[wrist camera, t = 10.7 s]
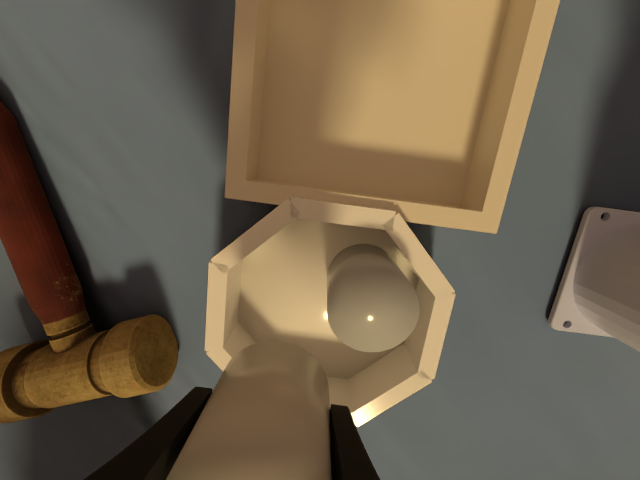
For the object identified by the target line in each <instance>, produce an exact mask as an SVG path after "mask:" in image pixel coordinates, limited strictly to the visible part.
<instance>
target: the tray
mask: <svg viewBox="0 0 640 480" xmlns="http://www.w3.org/2000/svg"><path fill="white" fill-rule="evenodd" d="M559 2H560V0H236V4H235V22H234V40H233V58H232V76H231V93H230V111H229V129H228V147H227V165H226V183H225V198H230V199H237V200H245V201H252V202H260V203H268V204H275V205H280V204H282V203H283V202H284V201H285V200H287V199H288V198H290V200H291V197H298V198H305V199H313V200H320V201H328V202H335V203H343V204H351V205H358V206H366V207H373V208H381V209H388V210H395V211H396V212H398V213H399V214H400V215H401V217H402V218H403V219H404V221H405V222H412V223H419V224H427V225H434V226H442V227H450V228H457V229H465V230H472V231H480V232H487V233H495V234H497V230H498V227H499V223H500V219H501V216H502V212H503V208H504V204H505V201H506V197H507V193H508V190H509V186H510V182H511V179H512V175H513V171H514V168H515V164H516V160H517V157H518V153H519V149H520V146H521V142H522V138H523V135H524V131H525V127H526V124H527V120H528V116H529V113H530V109H531V105H532V102H533V98H534V94H535V91H536V87H537V83H538V80H539V76H540V72H541V69H542V65H543V61H544V58H545V54H546V50H547V46H548V43H549V39H550V35H551V32H552V28H553V24H554V21H555V17H556V13H557V10H558V6H559Z"/></svg>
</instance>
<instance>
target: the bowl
mask: <svg viewBox="0 0 640 480" xmlns="http://www.w3.org/2000/svg"><path fill="white" fill-rule="evenodd" d="M356 244H370V245H374V246H377V247H379V248H381V249H383V250H384V251H386V252H387V253H388V254H389V255H390V256H391V257H392V259H393V260H394V261H395V263H396V264H397V266H398V267H399V268H400V270H401V271H402V272H403V274H404V275H405V276H406V278H407V279H408V281H409V282H410V283H411V285H412V286H413V288H414V289H415V291H416V293H417V296H418V299H419V304H420V313H419V319H418V322H417V324H416V327H415V328H414V330H413V332H412V333H411V334H410V336H409V337H408V338H407V339H406V340H405V341H403V342H402V343H401V344H399V345H397V346H396V347H394V348H391V349H389V350H385V351H381V352H363V351H359V350H355V349H353V348H351V347H349V346H347V345H345V344H344V343H343V342H341V341H340V340H339V339H338V338H337V337H336V335H335V334H334V333H333V331H332V329H331V327H330V325H329V322H328V317H327V273H328V269H329V266H330V264H331V262H332V260H333V259H334V257H335V256H336V255H337V254H338V253H339V252H340V251H342V250H343V249H345V248H347V247H349V246H352V245H356ZM454 292H455V291H454V289H453V288H452V287H451V285H450V284H449V282H448V281H447V280H446V278H445V277H444V275H443V274H442V273H441V271H440V270H439V268H438V267H437V266H436V264H435V263H434V261H433V260H432V259H431V257H430V256H429V254H428V253H427V252H426V250H425V249H424V247H423V246H422V245H421V243H420V242H419V240H418V239H417V238H416V236H415V235H414V233H413V232H412V231H411V229H410V228H409V226H408V225H407V224H406V222H405V221H404V219H403V218H402V217H401V215H400V214H399V213H398V212H396V211H395V210H388V209H381V208H373V207H366V206H358V205H351V204H343V203H335V202H328V201H320V200H313V199H305V198H298V197H291V200H290V198H288V199H287V200H285V201H284V202H283V203H282V204H280V205H279V206H278V207H276V208H275V209H274V210H273V211H271V212H270V213H269V214H268V215H266V216H265V217H264V218H263V219H261V220H260V221H259V222H257V223H256V224H255V225H254V226H252V227H251V228H250V229H249V230H247V231H246V232H245V233H244V234H242V235H241V236H240V237H238V238H237V239H236V240H235V241H233V242H232V243H231V244H230V245H228V246H227V247H226V248H225V249H223V250H222V251H221V252H219V253H218V254H217V255H216V256H214V257H213V258H212V259H211V261H210V262H209V271H208V293H207V314H206V336H205V351H207V352H206V354H207V355H208V356H209V357H210V358H211V359H212V360H213V361H214V362H215V363H216V364H217V365H218V366H219V368H220V369H221V370H222V371H224V370H225V368H226V366H227V364H228V363H229V361H230V360H231V359H232V358H233V357H234V356H235V355H236V354H237V353H238V352H239V351H241V350H242V349H244V348H246V347H248V346H250V345H253V344H255V343H259V342H264V341H282V342H287V343H291V344H294V345H296V346H299V347H301V348H303V349H304V350H306V351H307V352H309V353H310V354H311V355H312V356H314V357H315V358H316V359H317V361H318V362H319V363H320V364H321V366H322V367H323V369H324V371H325V373H326V376H327V379H328V383H329V398H330V407H331V404H335V405H343V406H347V407H348V408H349V409H350V412H351V415H352V418H353V421H354V424H355V425H356V426H357V427H359V426H361V425H362V424H364V423H365V422H367V421H369V420H370V419H372V418H374V417H375V416H377V415H379V414H380V413H382V412H384V411H385V410H387V409H388V408H390V407H392V406H393V405H395V404H397V403H398V402H400V401H402V400H403V399H405V398H407V397H408V396H410V395H411V394H413V393H415V392H416V391H418V390H420V389H421V388H423V387H425V386H426V385H428V384H430V383H431V382H432V380H431V379H434V378H435V374H436V370H437V366H438V362H439V358H440V354H441V350H442V346H443V342H444V338H445V334H446V330H447V326H448V322H449V318H450V314H451V311H452V307H453V303H454V299H455V295H456V294H455V293H454Z"/></svg>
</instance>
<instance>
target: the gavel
mask: <svg viewBox="0 0 640 480" xmlns="http://www.w3.org/2000/svg"><path fill="white" fill-rule="evenodd" d="M0 238H1V240H2V243H3V245H4V248H5V250H6V252H7V255H8V257H9V259H10V262H11V264H12V266H13V269H14V271H15V273H16V276H17V278H18V280H19V283H20V285H21V288H22V290H23V292H24V295H25V297H26V299H27V302H28V304H29V306H30V308H31V309H32V310H33V312H34V313H35V315H36V316H37V317H38V319H39V320H40V322H41V323H42V324H43V327H44V329H45V332H46V334H47V336H51V337H52V338H50V339H49V340H42V341H37V342H33V343H29V344H24V345H20V346H16V347H12V348H9V349H7V350H4V351H2V352H1V353H0V423H11V422H15V421H20V420H25V419H30V418H34V417H38V416H42V415H45V414H47V413H49V412H51V411H52V410H54V409H55V408H56V407H60V406H64V405H69V404H73V403H78V402H83V401H87V400H92V399H97V398H101V397H106V396H111V395H115V396H118V397H121V398H128V397H132V396H137V395H142V394H146V393H151V392H155V391H159V390H161V389H162V388H164V387H165V386H166V385H167V384H168V383H169V381H170V380H171V378H172V376H173V374H174V371H175V368H176V365H177V359H178V344H177V340H176V338H175V335H174V333H173V330H172V328H171V326H170V324H169V323H168V322H167V320H166V319H164V318H163V317H161V316H159V315H154V314H152V315H147V316H143V317H139V318H135V319H130V320H126V321H122V322H120V323H118V324H116V325H115V326H114V327H113V328H112V329H110V330H105V331H101V332H97V333H96V332H95V330H94V327H93V324H92V323H88V321H89V320H90V318H89V316H88V313H87V311H86V308H85V301H84V295H83V289H82V287H81V284H80V282H79V279H78V276H77V274H76V271H75V269H74V266H73V264H72V261H71V259H70V256H69V254H68V251H67V248H66V246H65V243H64V241H63V238H62V236H61V233H60V231H59V228H58V226H57V223H56V220H55V218H54V215H53V213H52V210H51V208H50V205H49V203H48V200H47V197H46V195H45V192H44V190H43V187H42V185H41V182H40V180H39V177H38V175H37V172H36V169H35V167H34V164H33V162H32V159H31V157H30V154H29V152H28V149H27V146H26V144H25V141H24V139H23V136H22V134H21V131H20V129H19V126H18V124H17V121H16V118H15V117H14V116H13V115H12V113H11V112H10V111H9V110H8V109H7V108H6V106H5V105H4V104H3V103H2V102H1V100H0Z"/></svg>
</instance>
